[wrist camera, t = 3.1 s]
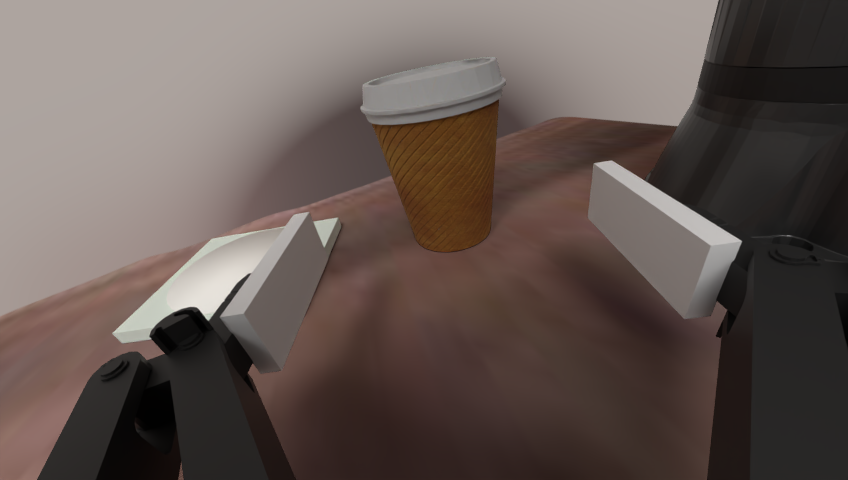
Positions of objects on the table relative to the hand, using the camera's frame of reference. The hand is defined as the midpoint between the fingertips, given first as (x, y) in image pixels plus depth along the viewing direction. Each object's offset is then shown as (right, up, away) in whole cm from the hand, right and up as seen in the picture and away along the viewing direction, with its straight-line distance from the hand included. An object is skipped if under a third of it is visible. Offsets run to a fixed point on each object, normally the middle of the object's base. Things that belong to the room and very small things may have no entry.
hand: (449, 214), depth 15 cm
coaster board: (-16, -4, +11) cm, 20 cm away
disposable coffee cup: (+1, -1, +12) cm, 12 cm away
